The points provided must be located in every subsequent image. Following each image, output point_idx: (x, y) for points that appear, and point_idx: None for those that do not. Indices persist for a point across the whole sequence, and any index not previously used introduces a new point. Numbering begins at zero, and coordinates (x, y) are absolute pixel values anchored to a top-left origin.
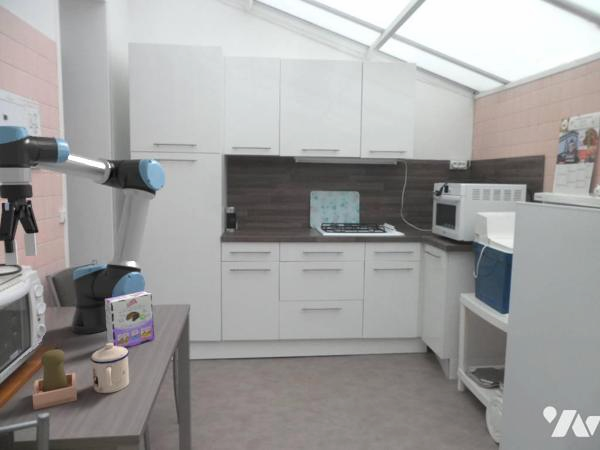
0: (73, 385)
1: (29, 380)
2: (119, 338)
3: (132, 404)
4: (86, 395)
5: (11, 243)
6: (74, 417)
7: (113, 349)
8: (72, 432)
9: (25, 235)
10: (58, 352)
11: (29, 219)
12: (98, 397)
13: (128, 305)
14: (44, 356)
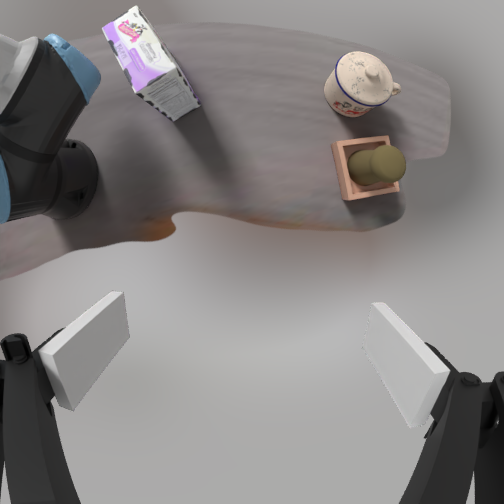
0: (383, 138)
1: (290, 223)
2: (192, 89)
3: (403, 75)
4: (369, 126)
5: (450, 371)
6: (418, 138)
7: (377, 68)
8: (443, 139)
9: (74, 398)
10: (397, 152)
11: (34, 472)
12: (378, 111)
13: (164, 45)
14: (402, 175)
